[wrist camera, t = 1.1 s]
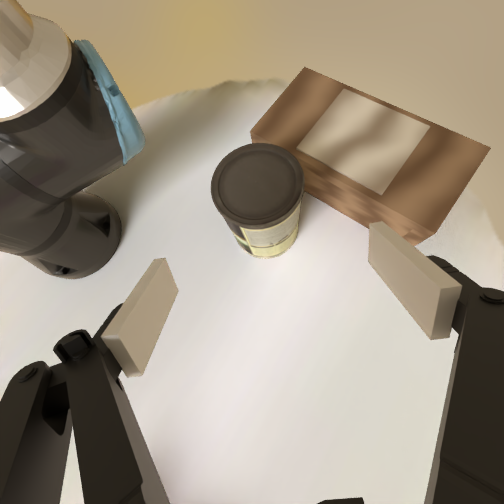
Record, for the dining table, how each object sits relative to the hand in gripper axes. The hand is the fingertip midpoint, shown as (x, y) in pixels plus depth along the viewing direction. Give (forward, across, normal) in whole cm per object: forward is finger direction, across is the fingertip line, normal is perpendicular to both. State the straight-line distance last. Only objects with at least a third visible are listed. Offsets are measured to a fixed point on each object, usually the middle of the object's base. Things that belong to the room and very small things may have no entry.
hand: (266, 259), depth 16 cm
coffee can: (+24, 0, -8) cm, 25 cm away
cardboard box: (+29, +15, -2) cm, 33 cm away
